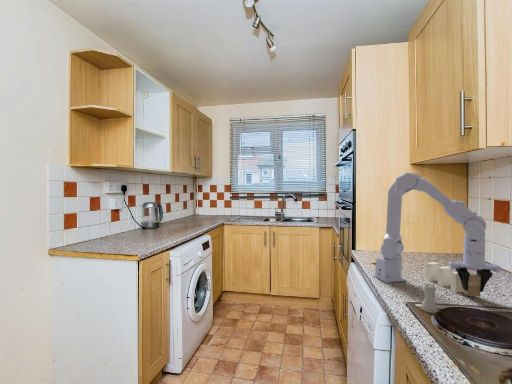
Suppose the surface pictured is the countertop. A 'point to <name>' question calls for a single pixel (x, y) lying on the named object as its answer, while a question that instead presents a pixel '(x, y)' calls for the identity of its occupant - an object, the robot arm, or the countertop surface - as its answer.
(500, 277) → the countertop surface
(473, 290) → the domino
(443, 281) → the domino
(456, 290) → the domino
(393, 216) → the robot arm
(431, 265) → the domino
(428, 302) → the rook chess piece
